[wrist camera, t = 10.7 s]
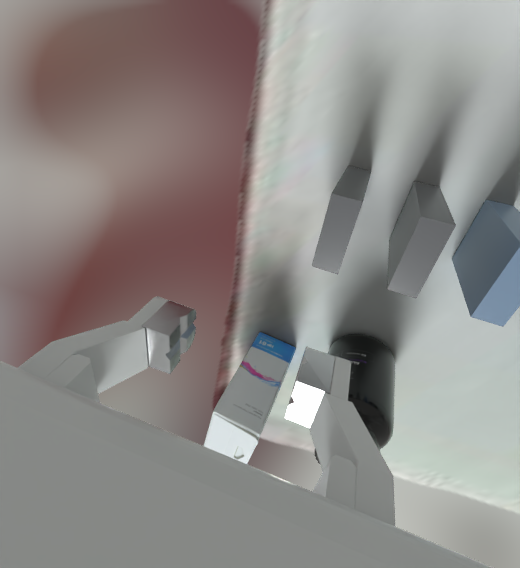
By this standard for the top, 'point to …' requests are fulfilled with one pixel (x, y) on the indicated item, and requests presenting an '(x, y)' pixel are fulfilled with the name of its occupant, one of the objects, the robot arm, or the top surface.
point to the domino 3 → (491, 263)
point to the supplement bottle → (369, 383)
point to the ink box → (249, 399)
